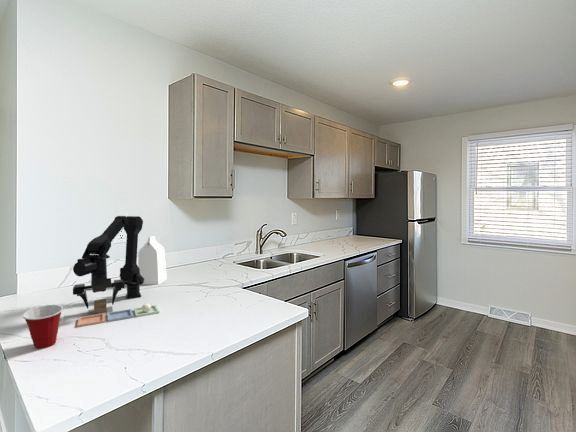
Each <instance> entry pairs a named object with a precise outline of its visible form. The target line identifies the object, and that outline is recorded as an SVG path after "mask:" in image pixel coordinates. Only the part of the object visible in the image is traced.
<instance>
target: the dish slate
mask: <svg viewBox="0 0 576 432" xmlns="http://www.w3.org/2000/svg"><path fill="white" fill-rule="evenodd" d="M132 310H133V309H132V308H128V309H121V310H116V311H113V312H109V313H107V314H106V315H107V323H111V322H117V321H122V320H128V319H129V320H130V319H134V314H133V311H132Z"/></svg>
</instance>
